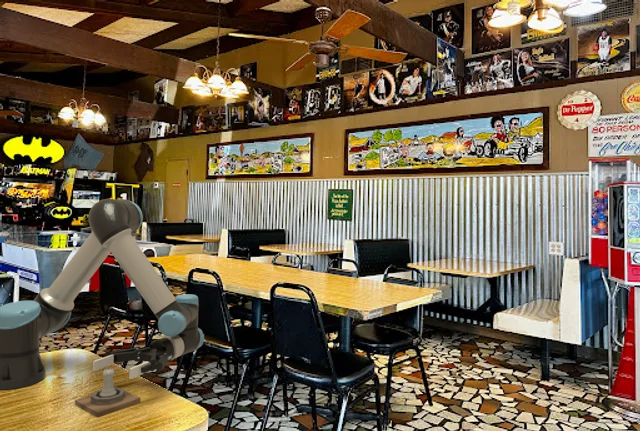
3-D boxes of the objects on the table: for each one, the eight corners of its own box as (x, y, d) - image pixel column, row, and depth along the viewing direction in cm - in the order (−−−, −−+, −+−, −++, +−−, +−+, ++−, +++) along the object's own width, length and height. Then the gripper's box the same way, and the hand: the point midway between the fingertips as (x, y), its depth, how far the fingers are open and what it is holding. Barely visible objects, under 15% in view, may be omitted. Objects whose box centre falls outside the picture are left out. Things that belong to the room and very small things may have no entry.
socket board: (75, 404, 123) (75, 394, 123) (117, 391, 133) (117, 381, 133) (97, 417, 116) (97, 406, 116) (140, 402, 126) (140, 392, 126)
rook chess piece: (109, 403, 122) (110, 373, 122) (95, 401, 123) (95, 371, 123) (120, 396, 126) (120, 367, 126) (106, 394, 127) (106, 366, 127)
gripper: (197, 366, 140) (146, 391, 120) (135, 355, 149) (79, 376, 130) (198, 342, 140) (146, 363, 120) (136, 332, 149) (79, 349, 130)
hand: (111, 369), depth 125 cm, fingers open, 13 cm apart
